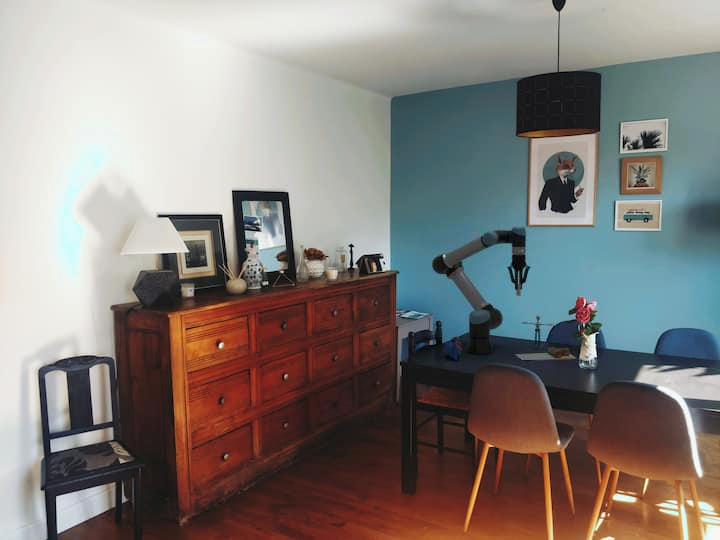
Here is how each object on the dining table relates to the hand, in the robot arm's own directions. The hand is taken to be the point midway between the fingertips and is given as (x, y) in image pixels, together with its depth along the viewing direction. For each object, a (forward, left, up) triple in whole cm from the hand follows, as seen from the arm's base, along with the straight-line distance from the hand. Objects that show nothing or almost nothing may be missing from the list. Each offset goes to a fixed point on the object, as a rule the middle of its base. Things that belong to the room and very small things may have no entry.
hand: (518, 295), depth 321 cm
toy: (-40, -9, -33) cm, 52 cm away
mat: (+10, -15, -32) cm, 37 cm away
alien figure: (+14, +6, -33) cm, 36 cm away
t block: (+18, -15, -32) cm, 40 cm away
